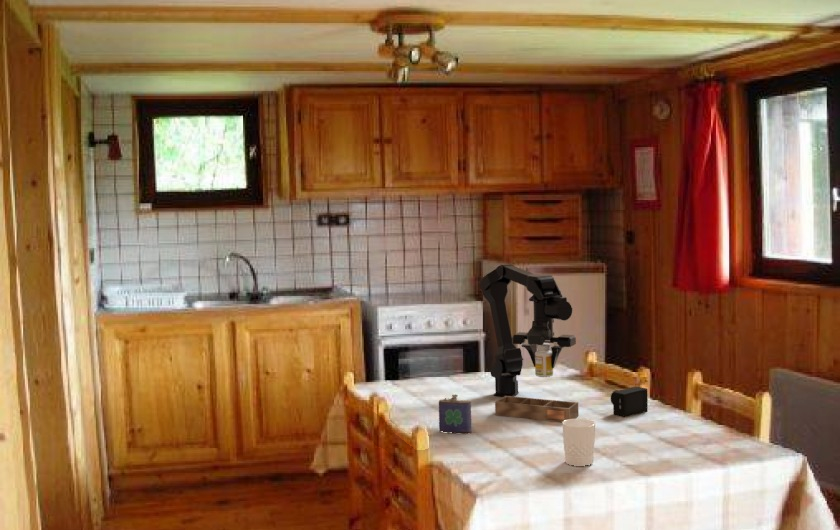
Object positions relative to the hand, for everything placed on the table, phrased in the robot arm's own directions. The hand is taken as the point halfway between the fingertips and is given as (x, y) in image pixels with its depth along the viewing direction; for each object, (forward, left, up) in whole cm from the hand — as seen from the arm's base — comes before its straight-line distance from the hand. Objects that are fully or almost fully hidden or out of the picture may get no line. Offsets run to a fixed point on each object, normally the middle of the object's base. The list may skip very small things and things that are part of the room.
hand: (544, 367), depth 272 cm
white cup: (+27, -49, -12) cm, 57 cm away
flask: (-13, -36, -12) cm, 40 cm away
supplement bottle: (0, 0, -3) cm, 3 cm away
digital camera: (+26, +2, -12) cm, 28 cm away
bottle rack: (+2, -11, -12) cm, 16 cm away
